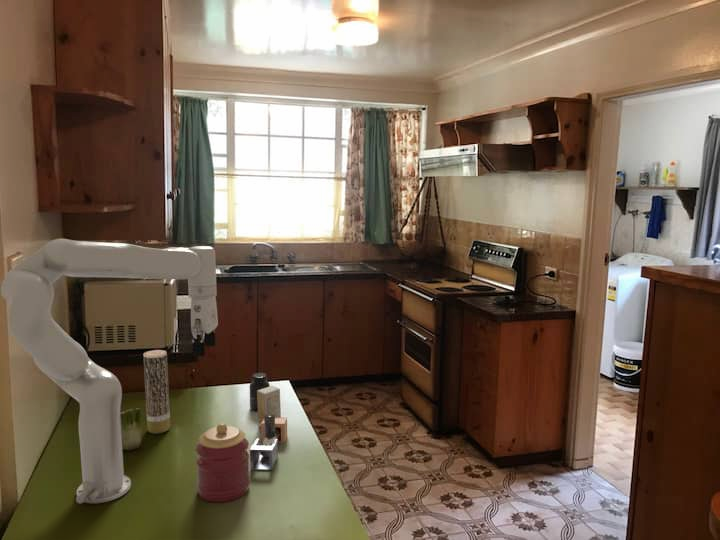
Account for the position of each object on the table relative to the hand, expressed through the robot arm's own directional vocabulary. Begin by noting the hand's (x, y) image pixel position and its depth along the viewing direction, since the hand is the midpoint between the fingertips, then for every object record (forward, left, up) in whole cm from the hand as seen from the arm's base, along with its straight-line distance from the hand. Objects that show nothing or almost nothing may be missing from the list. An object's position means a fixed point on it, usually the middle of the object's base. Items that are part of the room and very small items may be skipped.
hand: (204, 350), depth 162 cm
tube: (+3, -18, -30) cm, 35 cm away
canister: (-20, -10, -31) cm, 38 cm away
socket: (+9, -18, -30) cm, 36 cm away
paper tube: (+14, +20, -31) cm, 39 cm away
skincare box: (+19, -14, -31) cm, 39 cm away
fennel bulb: (+1, +23, -31) cm, 38 cm away
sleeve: (-6, -18, -30) cm, 36 cm away
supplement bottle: (+33, -8, -31) cm, 46 cm away
